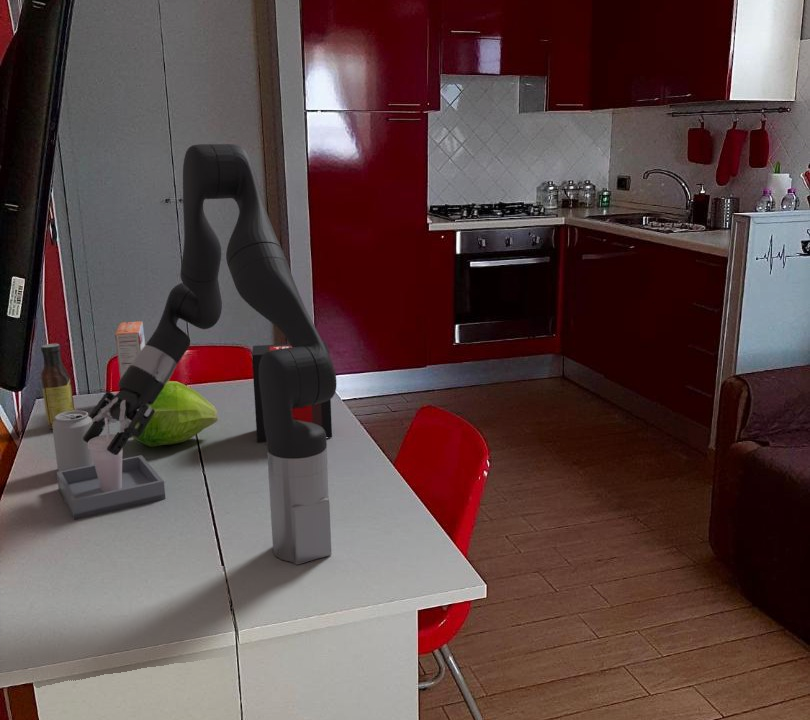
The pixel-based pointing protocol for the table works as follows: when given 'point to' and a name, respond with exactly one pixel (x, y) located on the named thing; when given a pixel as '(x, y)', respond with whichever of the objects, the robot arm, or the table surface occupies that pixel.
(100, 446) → the smoothie
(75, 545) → the table surface
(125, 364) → the cracker box
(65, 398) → the sauce bottle
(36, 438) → the table surface
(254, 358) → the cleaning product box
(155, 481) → the tray
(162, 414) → the lettuce
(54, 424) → the can
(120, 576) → the table surface
